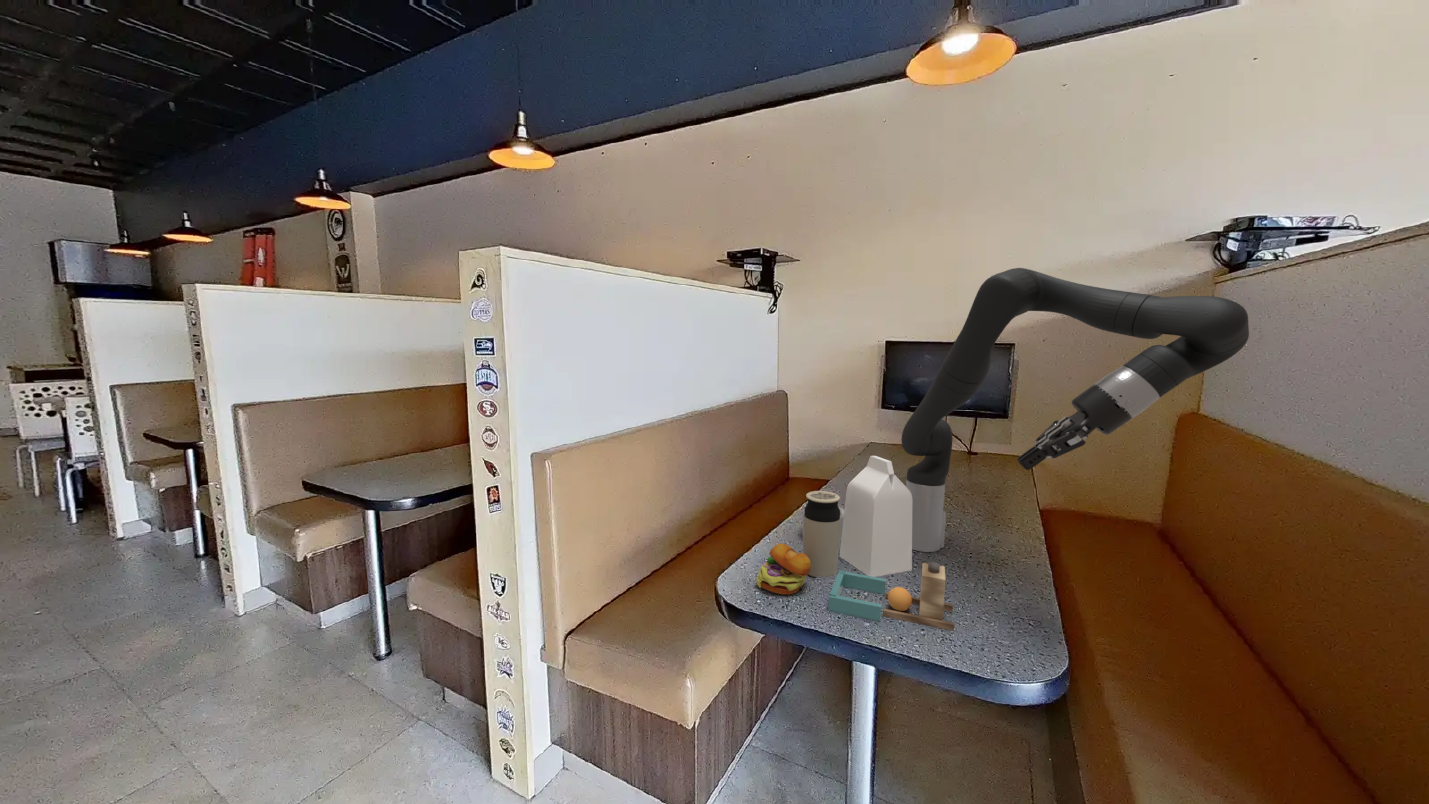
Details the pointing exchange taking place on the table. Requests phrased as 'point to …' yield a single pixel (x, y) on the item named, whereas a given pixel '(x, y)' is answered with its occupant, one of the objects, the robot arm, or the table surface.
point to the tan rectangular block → (932, 591)
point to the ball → (899, 599)
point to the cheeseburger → (784, 570)
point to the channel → (920, 619)
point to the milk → (877, 521)
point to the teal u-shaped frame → (854, 605)
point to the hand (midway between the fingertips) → (1021, 464)
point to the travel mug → (822, 532)
